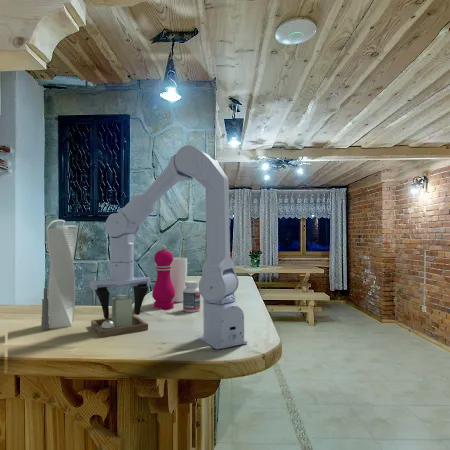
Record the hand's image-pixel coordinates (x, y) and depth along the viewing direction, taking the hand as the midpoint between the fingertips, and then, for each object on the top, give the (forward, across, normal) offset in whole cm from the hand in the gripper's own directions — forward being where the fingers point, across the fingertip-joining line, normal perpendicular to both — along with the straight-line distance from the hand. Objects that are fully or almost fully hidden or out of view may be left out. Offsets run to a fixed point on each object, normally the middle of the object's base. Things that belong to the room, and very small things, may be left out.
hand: (121, 315), depth 87 cm
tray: (+3, +1, +1) cm, 3 cm away
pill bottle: (+3, -24, -9) cm, 26 cm away
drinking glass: (+3, -26, -24) cm, 36 cm away
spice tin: (+3, 0, 0) cm, 3 cm away
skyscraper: (+4, +13, -10) cm, 17 cm away
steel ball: (+3, +4, +4) cm, 6 cm away
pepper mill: (+3, -18, -17) cm, 25 cm away
